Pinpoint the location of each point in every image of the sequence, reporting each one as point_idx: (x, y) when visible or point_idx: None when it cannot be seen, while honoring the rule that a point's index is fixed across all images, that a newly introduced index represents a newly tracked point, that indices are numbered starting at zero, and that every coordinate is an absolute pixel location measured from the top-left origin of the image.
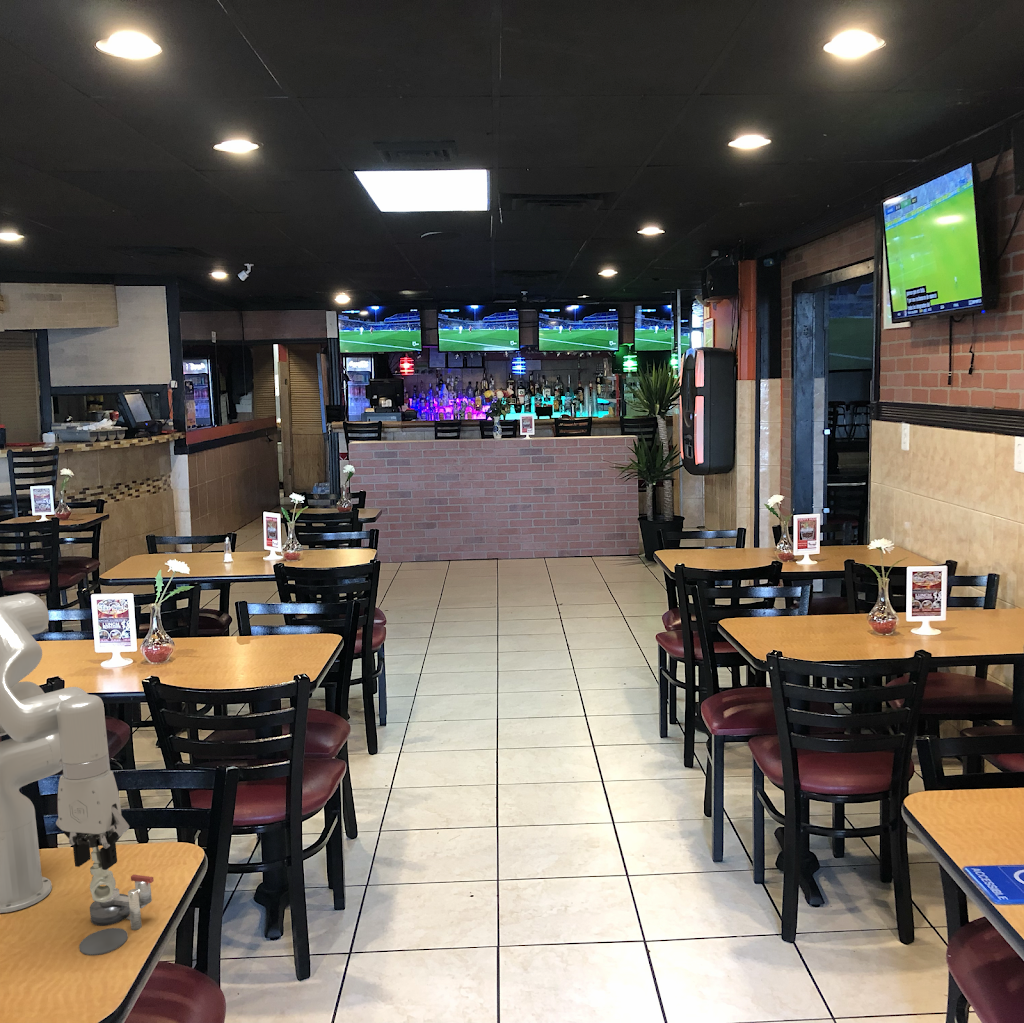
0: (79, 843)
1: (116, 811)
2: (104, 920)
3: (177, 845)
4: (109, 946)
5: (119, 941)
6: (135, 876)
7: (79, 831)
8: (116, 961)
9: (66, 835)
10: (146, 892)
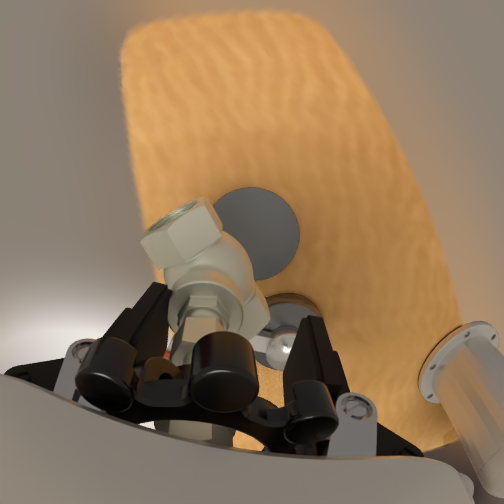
0: (216, 339)
1: None
2: (280, 298)
3: None
4: (224, 212)
5: None
6: None
7: (235, 461)
8: (187, 167)
9: (401, 440)
10: (174, 334)
